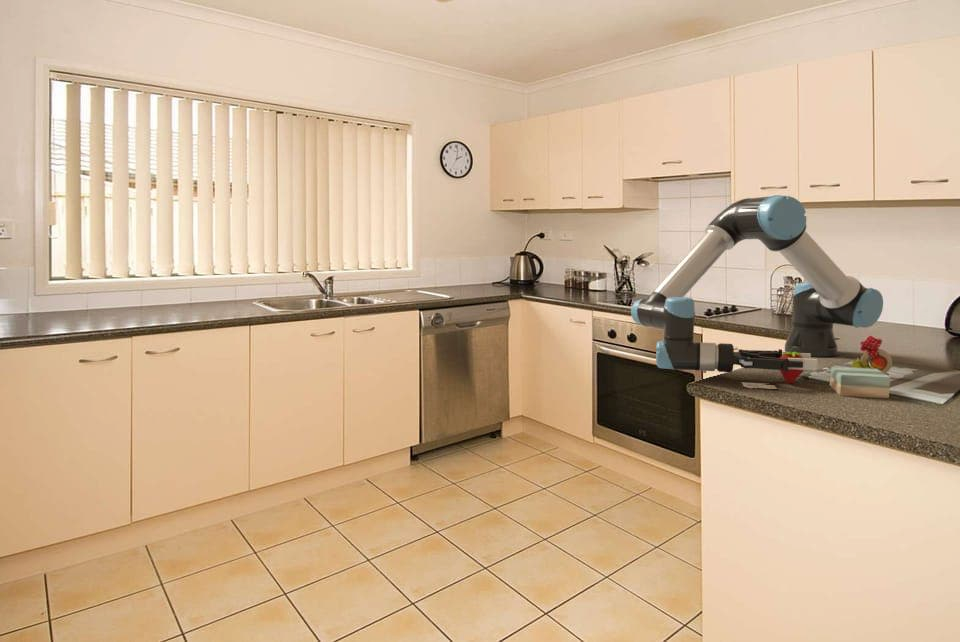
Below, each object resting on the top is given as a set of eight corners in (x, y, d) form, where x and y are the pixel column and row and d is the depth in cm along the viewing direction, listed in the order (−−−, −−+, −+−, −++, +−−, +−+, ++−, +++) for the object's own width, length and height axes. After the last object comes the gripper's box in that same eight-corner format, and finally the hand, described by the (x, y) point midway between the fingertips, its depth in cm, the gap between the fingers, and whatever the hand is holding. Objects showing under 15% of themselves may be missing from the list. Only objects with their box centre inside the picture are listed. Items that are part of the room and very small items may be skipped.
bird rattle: (877, 381, 167) (843, 366, 170) (899, 346, 164) (864, 331, 166) (881, 387, 161) (846, 371, 164) (905, 350, 158) (868, 334, 161)
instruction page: (740, 382, 158) (740, 382, 158) (774, 384, 156) (774, 383, 156) (743, 388, 153) (743, 387, 153) (778, 390, 150) (778, 389, 150)
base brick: (829, 385, 154) (831, 366, 154) (875, 388, 151) (876, 368, 151) (840, 395, 145) (841, 374, 144) (888, 398, 142) (890, 377, 141)
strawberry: (809, 383, 157) (812, 345, 155) (794, 388, 152) (796, 348, 151) (787, 379, 161) (789, 342, 160) (771, 383, 157) (773, 345, 156)
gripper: (713, 363, 171) (804, 368, 164) (718, 379, 152) (821, 385, 146) (714, 337, 170) (806, 340, 163) (720, 350, 151) (823, 354, 145)
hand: (813, 361), depth 155 cm, fingers closed on strawberry, 7 cm apart
